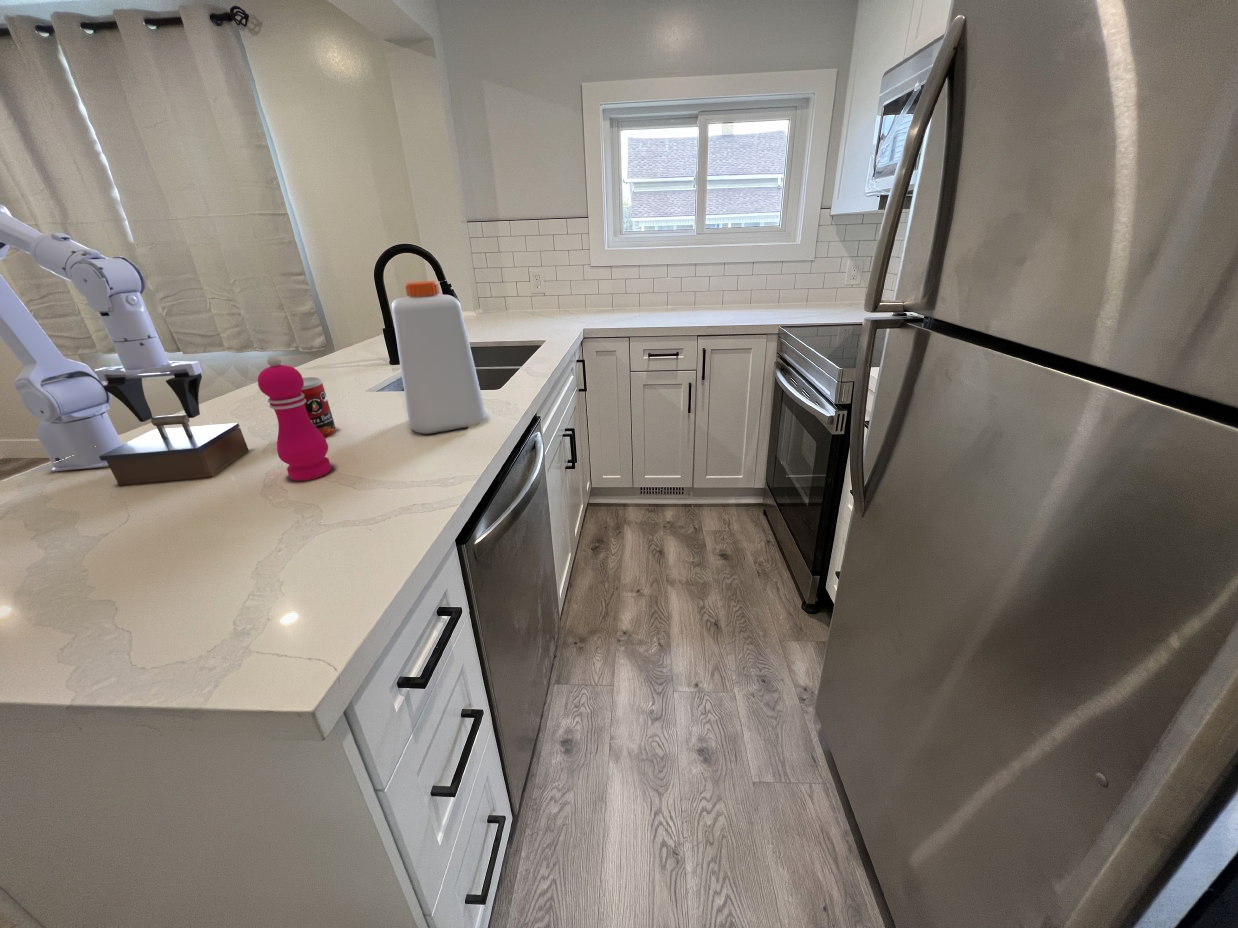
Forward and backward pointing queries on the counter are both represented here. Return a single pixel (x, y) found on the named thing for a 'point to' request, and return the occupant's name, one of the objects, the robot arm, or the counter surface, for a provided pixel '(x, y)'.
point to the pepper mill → (294, 422)
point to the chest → (181, 463)
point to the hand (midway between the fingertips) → (170, 418)
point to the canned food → (318, 406)
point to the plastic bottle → (436, 361)
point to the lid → (171, 439)
